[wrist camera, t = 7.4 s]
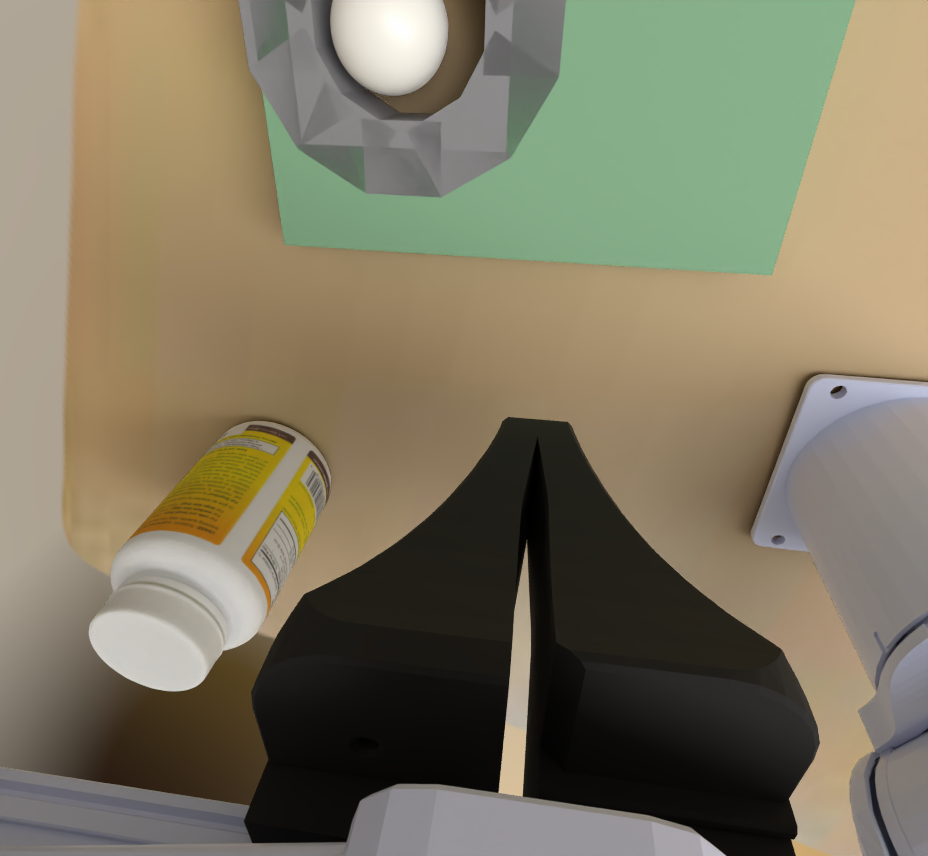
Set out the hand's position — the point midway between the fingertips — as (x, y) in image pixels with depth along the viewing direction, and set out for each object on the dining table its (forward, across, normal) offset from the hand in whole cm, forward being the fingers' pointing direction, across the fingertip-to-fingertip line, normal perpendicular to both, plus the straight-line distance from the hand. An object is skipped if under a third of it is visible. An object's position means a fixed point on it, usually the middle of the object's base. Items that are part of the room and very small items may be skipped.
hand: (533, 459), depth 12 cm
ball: (+9, +5, -8) cm, 13 cm away
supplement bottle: (+11, +11, +9) cm, 18 cm away
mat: (+10, +1, -8) cm, 13 cm away
